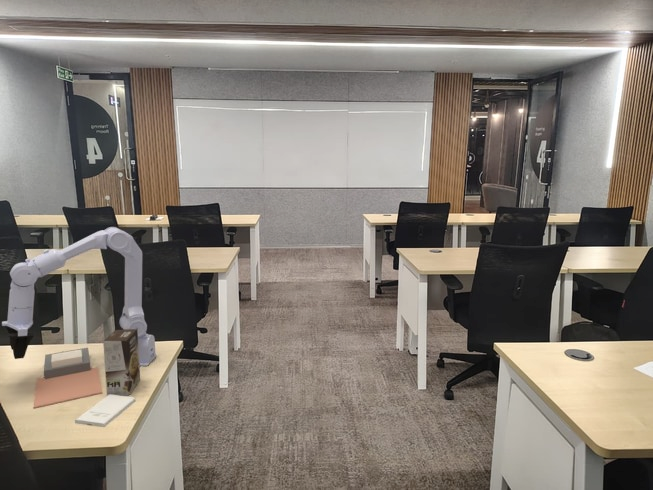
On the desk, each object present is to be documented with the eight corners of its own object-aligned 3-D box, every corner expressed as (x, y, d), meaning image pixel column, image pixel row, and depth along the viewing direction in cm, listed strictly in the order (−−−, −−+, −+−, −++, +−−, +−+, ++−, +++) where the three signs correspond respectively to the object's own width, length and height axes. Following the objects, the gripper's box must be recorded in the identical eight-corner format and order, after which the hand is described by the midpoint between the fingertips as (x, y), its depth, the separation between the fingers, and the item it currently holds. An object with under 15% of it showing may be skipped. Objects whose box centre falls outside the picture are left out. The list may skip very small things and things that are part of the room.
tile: (52, 360, 135) (51, 354, 134) (81, 355, 139) (81, 349, 138) (51, 368, 130) (51, 361, 129) (82, 362, 134) (82, 356, 133)
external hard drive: (135, 402, 118) (104, 429, 106) (109, 399, 119) (74, 424, 107) (135, 397, 118) (103, 423, 106) (108, 394, 119) (74, 418, 107)
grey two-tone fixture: (46, 363, 139) (45, 354, 139) (88, 355, 145) (88, 347, 145) (44, 380, 128) (43, 370, 128) (90, 371, 134) (90, 362, 134)
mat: (36, 379, 129) (36, 378, 128) (97, 368, 137) (97, 366, 137) (33, 408, 113) (33, 407, 113) (102, 393, 121) (102, 392, 121)
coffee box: (130, 395, 120) (126, 340, 118) (106, 396, 120) (101, 340, 117) (141, 380, 129) (138, 328, 127) (119, 380, 129) (115, 328, 126)
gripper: (1, 300, 123) (-3, 346, 125) (5, 313, 113) (2, 364, 114) (30, 299, 128) (27, 344, 129) (38, 312, 117) (34, 361, 118)
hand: (17, 353), depth 122 cm, fingers open, 7 cm apart
